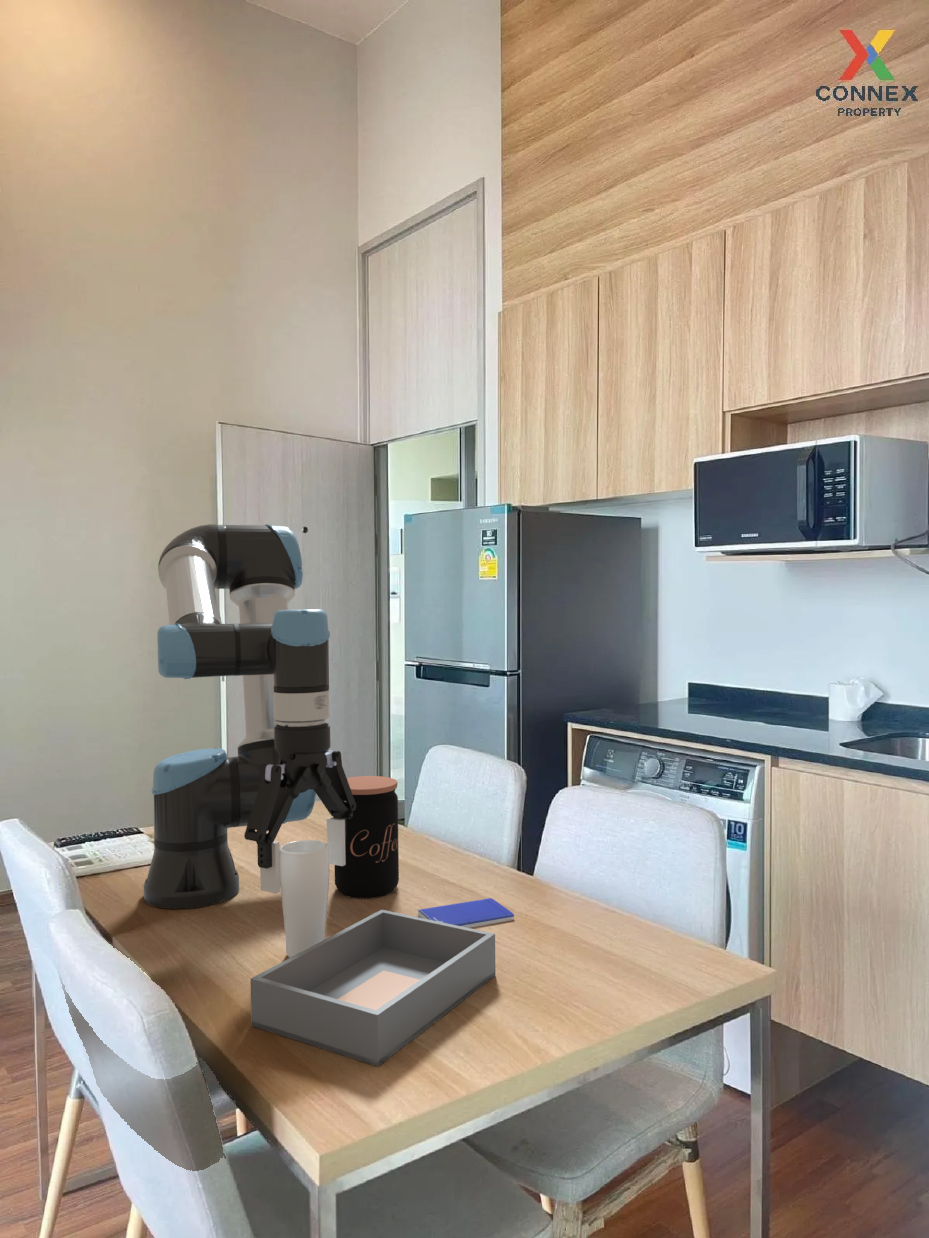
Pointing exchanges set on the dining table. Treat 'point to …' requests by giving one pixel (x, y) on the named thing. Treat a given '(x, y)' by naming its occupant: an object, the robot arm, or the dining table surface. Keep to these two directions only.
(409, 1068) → the dining table surface
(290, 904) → the drinking glass
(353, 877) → the coffee jar
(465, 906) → the hard drive
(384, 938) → the walled box
